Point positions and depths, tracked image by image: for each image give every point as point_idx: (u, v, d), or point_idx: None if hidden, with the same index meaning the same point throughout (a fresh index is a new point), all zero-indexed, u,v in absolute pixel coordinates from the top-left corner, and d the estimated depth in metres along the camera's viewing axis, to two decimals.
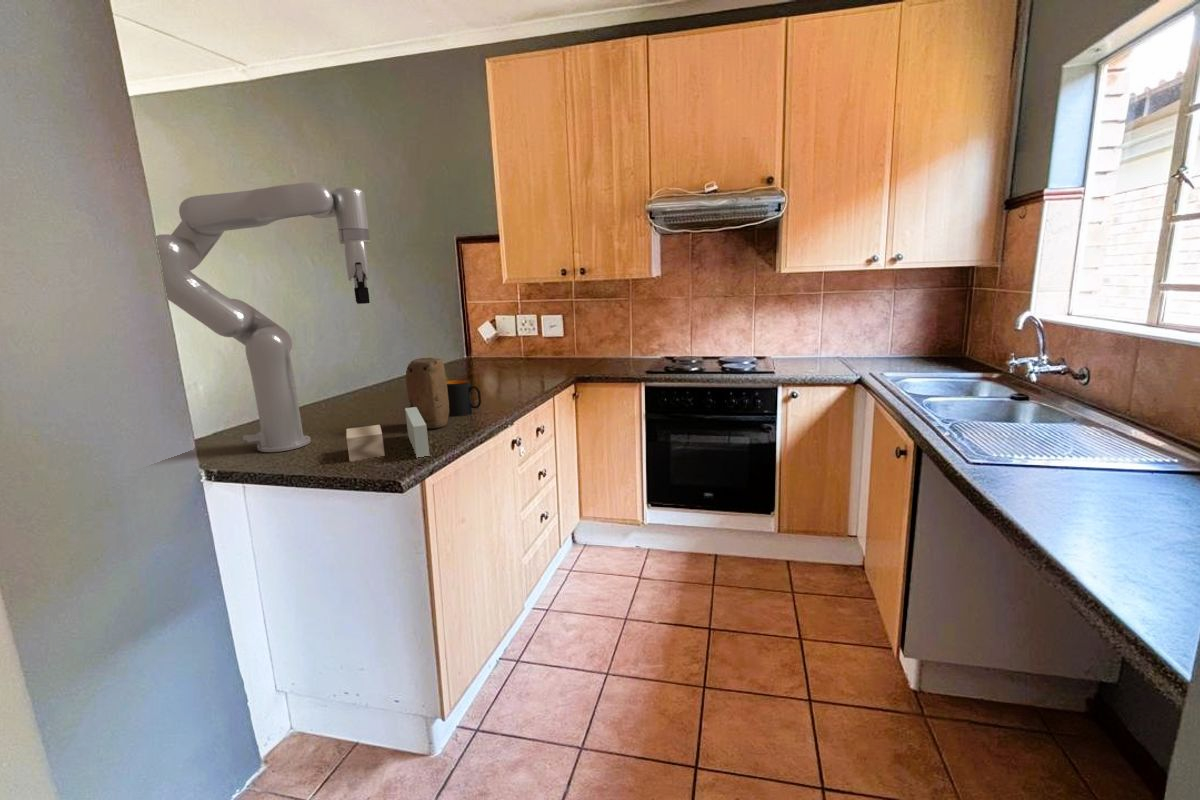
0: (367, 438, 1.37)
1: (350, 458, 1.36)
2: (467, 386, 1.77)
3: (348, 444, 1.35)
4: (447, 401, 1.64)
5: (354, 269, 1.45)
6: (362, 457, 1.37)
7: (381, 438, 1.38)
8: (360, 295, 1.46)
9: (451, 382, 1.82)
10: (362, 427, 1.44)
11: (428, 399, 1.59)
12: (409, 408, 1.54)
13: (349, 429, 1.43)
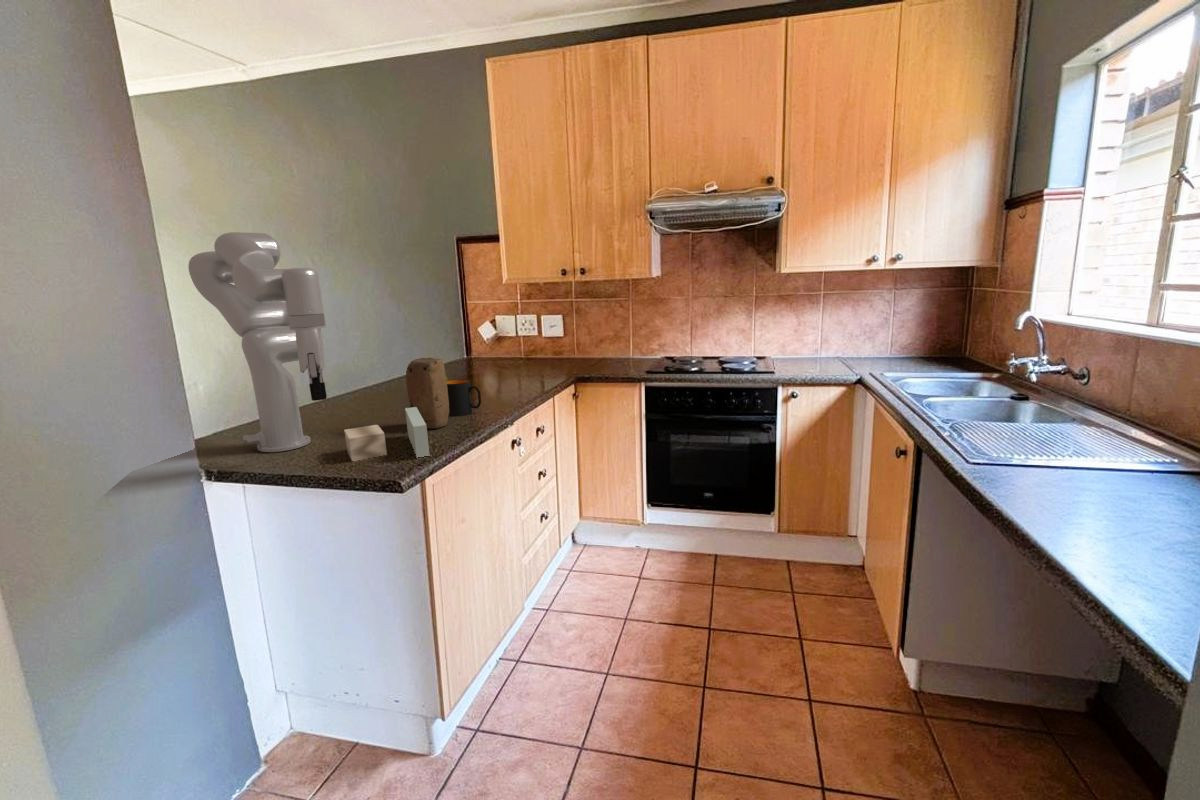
0: (369, 438, 1.37)
1: (353, 458, 1.36)
2: (467, 386, 1.77)
3: (351, 444, 1.35)
4: (447, 401, 1.64)
5: (306, 361, 1.28)
6: (364, 457, 1.37)
7: (383, 437, 1.38)
8: (315, 392, 1.33)
9: (451, 382, 1.82)
10: (360, 427, 1.44)
11: (428, 399, 1.59)
12: (409, 408, 1.54)
13: (347, 430, 1.42)
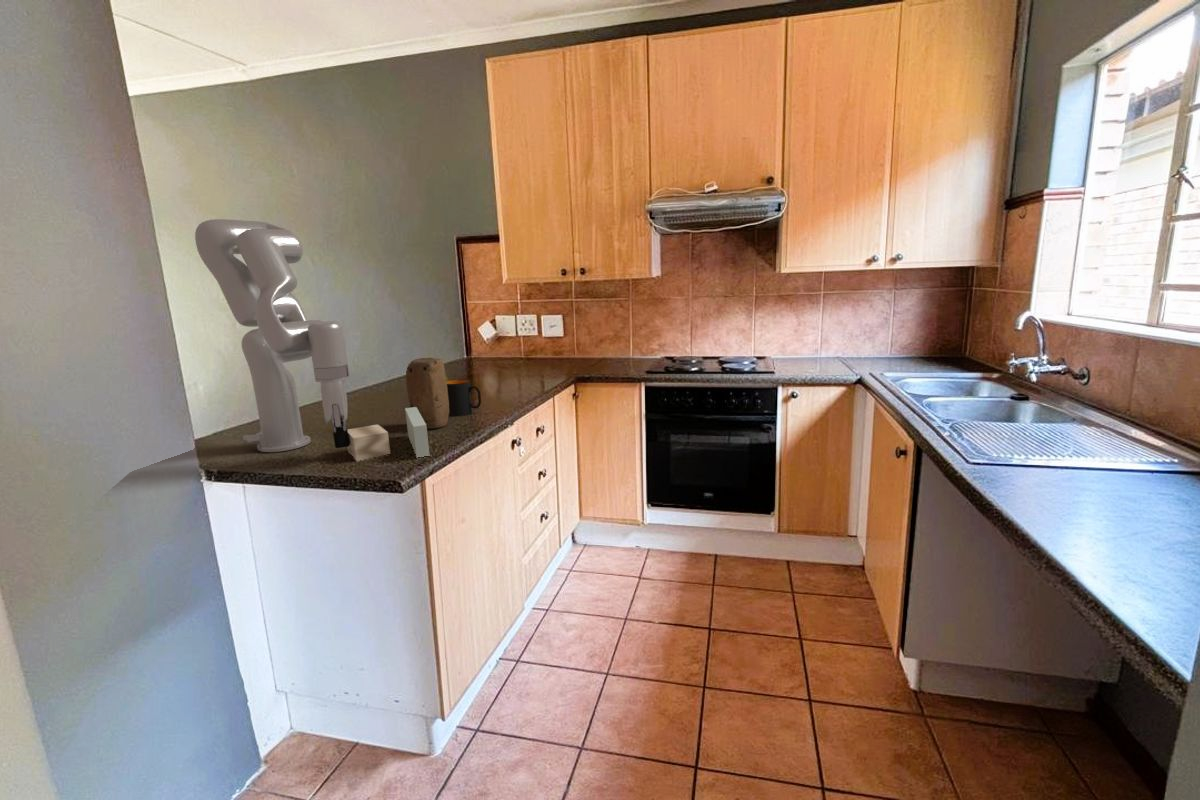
0: (373, 437, 1.37)
1: (357, 458, 1.36)
2: (467, 386, 1.77)
3: (355, 444, 1.35)
4: (447, 401, 1.64)
5: (331, 412, 1.32)
6: (368, 456, 1.37)
7: (387, 436, 1.39)
8: (339, 439, 1.37)
9: (451, 382, 1.82)
10: (361, 427, 1.44)
11: (428, 399, 1.59)
12: (409, 408, 1.54)
13: (348, 430, 1.42)
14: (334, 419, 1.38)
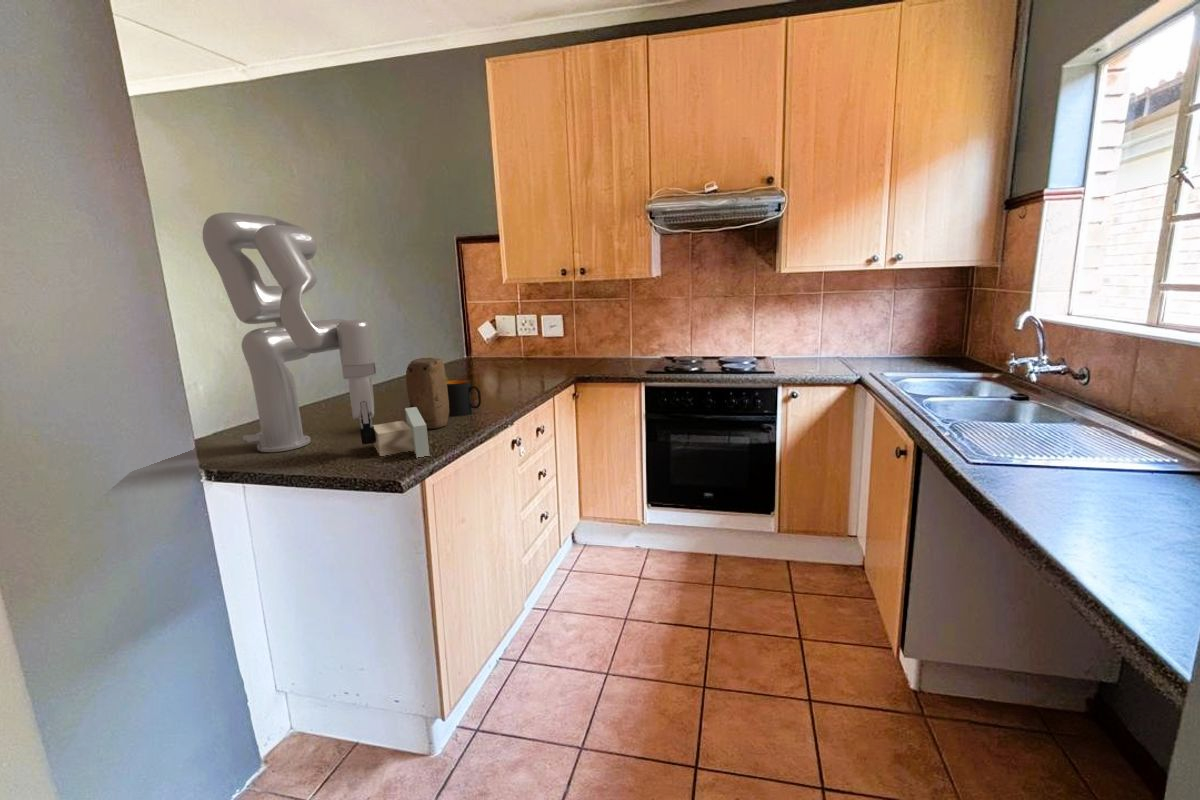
0: (397, 433, 1.40)
1: (381, 453, 1.39)
2: (467, 386, 1.77)
3: (379, 439, 1.38)
4: (447, 401, 1.64)
5: (359, 408, 1.34)
6: (392, 452, 1.40)
7: (410, 433, 1.41)
8: (366, 436, 1.40)
9: (451, 382, 1.82)
10: (387, 423, 1.47)
11: (428, 399, 1.59)
12: (409, 408, 1.54)
13: (374, 425, 1.45)
14: None
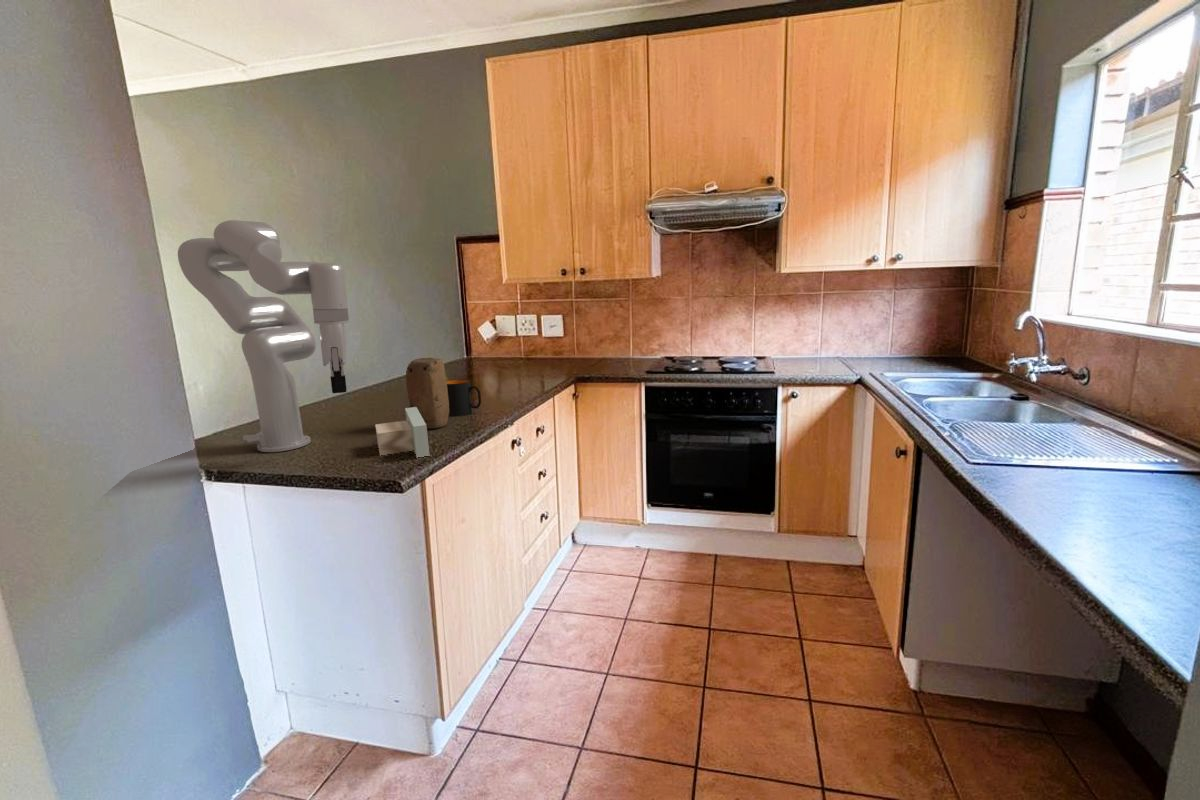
0: (397, 433, 1.40)
1: (380, 453, 1.39)
2: (467, 386, 1.77)
3: (379, 439, 1.38)
4: (447, 401, 1.64)
5: (329, 355, 1.30)
6: (392, 452, 1.40)
7: (410, 433, 1.41)
8: (336, 384, 1.35)
9: (451, 382, 1.82)
10: (390, 423, 1.48)
11: (428, 399, 1.59)
12: (409, 408, 1.54)
13: (378, 425, 1.46)
14: (332, 364, 1.36)
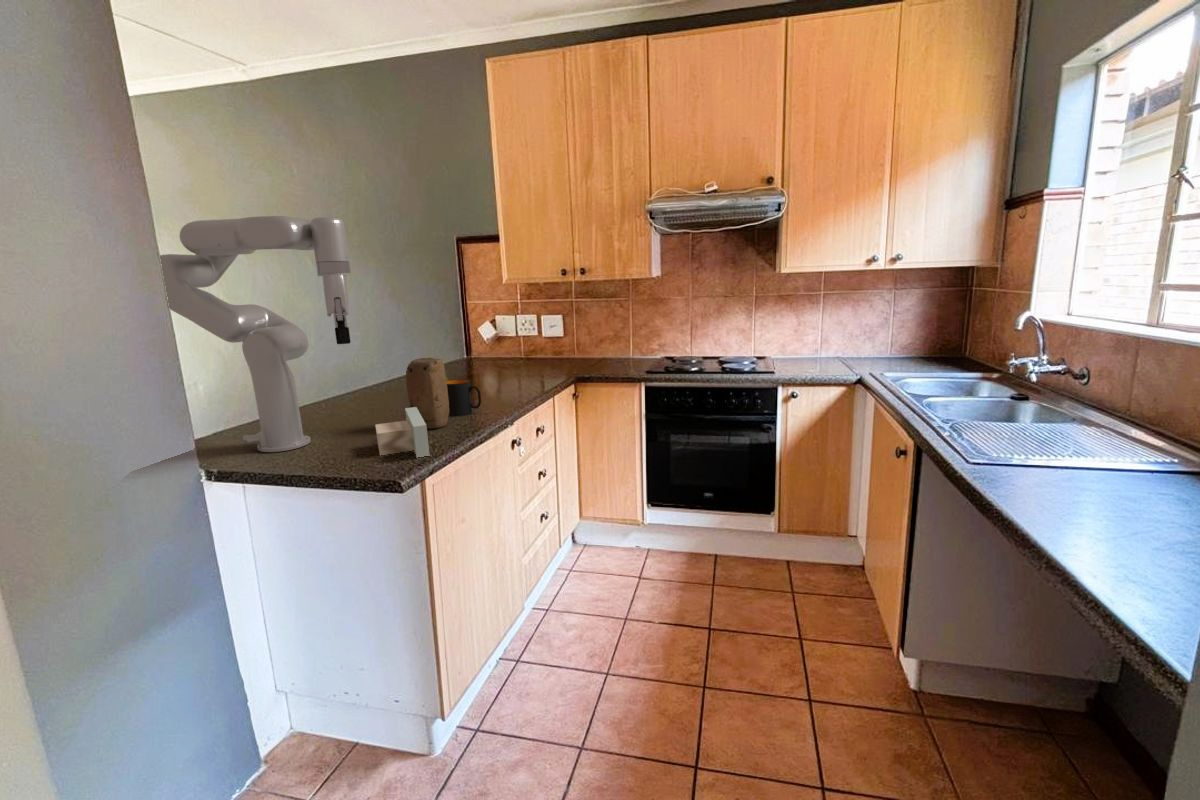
0: (397, 433, 1.40)
1: (381, 453, 1.39)
2: (467, 386, 1.77)
3: (379, 439, 1.38)
4: (447, 401, 1.64)
5: (333, 304, 1.36)
6: (392, 452, 1.40)
7: (410, 433, 1.41)
8: (340, 335, 1.41)
9: (451, 382, 1.82)
10: (390, 423, 1.48)
11: (428, 399, 1.59)
12: (409, 408, 1.54)
13: (378, 425, 1.46)
14: None
